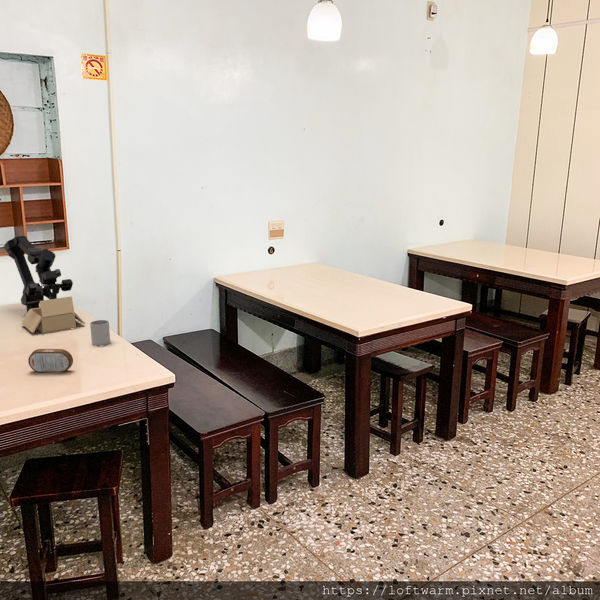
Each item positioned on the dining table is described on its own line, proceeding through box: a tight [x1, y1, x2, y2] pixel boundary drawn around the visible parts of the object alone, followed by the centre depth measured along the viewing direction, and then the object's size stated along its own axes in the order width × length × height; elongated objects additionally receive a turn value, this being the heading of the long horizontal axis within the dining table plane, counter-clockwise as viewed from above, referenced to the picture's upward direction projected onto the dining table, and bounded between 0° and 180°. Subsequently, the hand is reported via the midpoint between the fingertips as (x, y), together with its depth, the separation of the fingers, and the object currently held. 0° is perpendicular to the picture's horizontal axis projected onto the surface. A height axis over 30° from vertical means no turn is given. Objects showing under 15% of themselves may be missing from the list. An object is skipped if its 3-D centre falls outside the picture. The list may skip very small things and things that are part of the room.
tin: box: [27, 348, 74, 374], centre depth 212 cm, size 15×3×8 cm, turn 92°
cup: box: [89, 319, 111, 347], centre depth 245 cm, size 7×10×9 cm
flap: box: [39, 296, 75, 317], centre depth 258 cm, size 7×13×1 cm
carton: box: [21, 307, 86, 335], centre depth 268 cm, size 22×22×7 cm
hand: (55, 303), depth 260 cm, fingers closed
